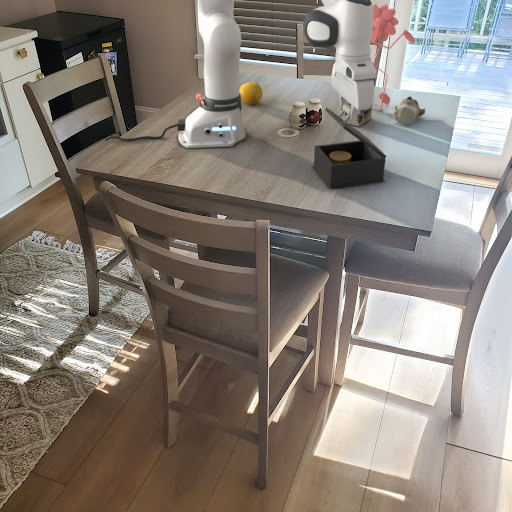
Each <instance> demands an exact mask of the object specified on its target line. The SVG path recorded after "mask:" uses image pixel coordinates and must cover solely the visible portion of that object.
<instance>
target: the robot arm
mask: <svg viewBox="0 0 512 512" xmlns="http://www.w3.org/2000/svg"><path fill="white" fill-rule="evenodd" d="M320 1H321V3H322V4H323V6H319V7H316V8H314V9H311V11H309V12H308V13H307V14H306V16H305V18H304V21H303V33H304V36H305V38H306V40H307V41H308V43H309V44H310V45H311V46H313V47H316V48H327V47H333V48H335V61H334V63H333V66H332V71H331V79H330V84H331V89H332V90H334V91H335V92H336V93H337V94H338V99H339V103H340V106H339V107H340V109H339V110H340V111H342V110H343V109H342V106H343V105H344V104H348V103H347V101H348V102H349V103H350V104H351V108H352V109H351V112H349V118H350V119H351V120H356V119H357V115H358V112H359V110H367V109H369V108H370V107H371V105H372V106H373V103H372V100H373V101H374V96H373V95H374V94H373V93H375V85H374V80H373V78H375V79H376V78H377V73H378V71H377V68H376V69H375V67H374V65H373V63H372V62H373V60H372V58H371V54H372V53H371V51H372V50H371V49H372V48H371V43H370V42H371V41H372V40H371V37H372V32H373V3H372V0H320ZM234 8H235V0H197V23H198V32H199V35H200V37H201V39H202V41H203V49H204V50H203V51H204V52H203V53H204V55H203V56H204V57H203V58H204V59H203V61H204V63H203V79H204V80H203V81H204V94H202V93H197V94H196V96H195V97H196V100H197V101H198V102H199V106H198V107H197V108H196V109H195V110H194V111H192V112H191V113H190V114H188V116H187V117H186V118H185V119H184V118H183V119H179V118H178V120H177V123H176V124H173V125H169V126H168V127H165V128H164V130H163V131H162V134H161V135H159V136H150V135H146V136H145V135H144V136H138V137H133V138H124V137H121V136H116V135H110V136H107V137H105V139H104V141H105V142H106V141H109V140H111V139H116V140H119V141H123V142H132V141H138V140H144V139H151V140H159V139H162V138H164V136H165V134H166V132H167V131H169V130H170V129H172V128H177V131H178V132H179V133H178V141H179V143H180V145H181V146H182V147H184V148H186V149H199V148H200V149H201V148H227V147H233V146H235V145H236V143H238V142H241V141H243V140H244V139H245V138H246V137H247V136H246V134H247V133H246V131H245V127H244V124H243V119H242V107H243V104H242V102H243V101H242V100H241V94H240V93H239V90H240V61H241V59H240V58H241V48H242V47H241V45H242V33H241V29H240V26H239V25H238V23H237V21H236V20H235V16H234V11H235V10H234Z"/></svg>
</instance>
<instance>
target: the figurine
mask: <svg viewBox="0 0 512 512" xmlns="http://www.w3.org/2000/svg"><path fill="white" fill-rule="evenodd" d="M372 6H373V32H372V37H371V40H370V44H372V45H375V46H376V47H377V50H376V53H375V56H374V59H373V61H372V63H373V65H374V67H375V69H376V70H379V71H380V72H382V73H383V74H384V76H386V77H385V82H384V87H383V92H379V96H378V95H374V94H373V97H376V98H379V100H380V107H379V111H382V108H383V103H384V104H385V105H386V106H388V105H389V104H390V102H391V97H390V96H389V95H388V94H387V93H386V92H385V91H386V86H387V82H388V76H389V75H388V74H387V73H386V72H384V71H383V70H382V69H381V68H380V67H379V66H378V64H377V62H376V60H377V57H378V54H379V52H380V50H381V48H380V47H382V48H384V49H387V50H390V49H392V48H393V46H394V45H395V44H396V43H397V42H398V41H399V40H400V39H401V38H402V36H404V38H405V39H406V40H407V41H408V42H409V43H411V44H412V45H414V44H415V42H416V39H415V37H414V35H413V34H412V33H411V32H410V31H408V30H407V29H404V30H403V32H402V33H401V34H400V35H399V36H398V37H397V38H396V39H395V40H394V42H393V43H392V44H391V45H390V46H386V45H384V44H382V43H379V42H378V41H379V40H380V39H381V41H382V42H387V41H388V38H389V35H390V36H395V35H396V33H397V30H396V27H395V26H397V25H399V19H397V17H394V16H395V15H396V12H397V11H396V9H395V8H389V5H388V4H383V5H381V6H378V4H377V3H375V4H374V3H373V4H372Z"/></svg>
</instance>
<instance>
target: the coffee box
mask: <svg viewBox="0 0 512 512" xmlns="http://www.w3.org/2000/svg"><path fill="white" fill-rule="evenodd" d="M373 80H374V86H376V85H375V83H376V78H373ZM374 93H375V92H374ZM374 93H373V95H374ZM373 101H374V99H373V100H372V105H371V107H370V108H369V109H367V110H359V112H358V115H357V119H356V120H351V119H350V118H349V120H348V121H347V123H348V124H350V125H351V126H354V127H361V126H362V125H363V124H365V123H366V122H368V121H370V120H371V119H372V111H373V103H374V102H373ZM347 103H348V105H350V106H351V104H350V103H349V102H348V101H347ZM347 115H348V114H347V113H346V112H344V114H343V120H344V119H345V118H346V117H347Z"/></svg>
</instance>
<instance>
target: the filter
mask: <svg viewBox="0 0 512 512" xmlns="http://www.w3.org/2000/svg"><path fill="white" fill-rule="evenodd" d="M329 158H330V160H331V162H332V163H333V164H339V163H346V162H350V159H351V154H350V153H348V152H344V151H334V152H331V153H330V154H329Z"/></svg>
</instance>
